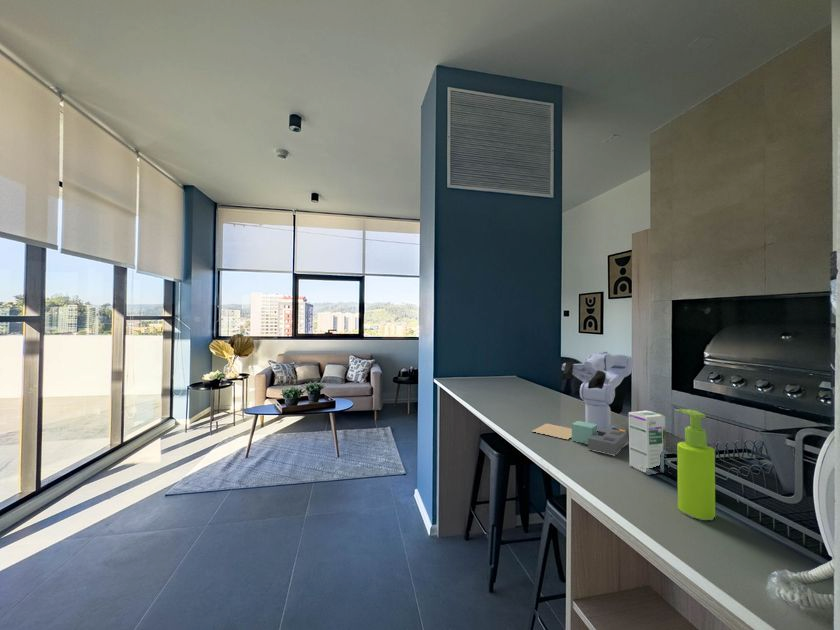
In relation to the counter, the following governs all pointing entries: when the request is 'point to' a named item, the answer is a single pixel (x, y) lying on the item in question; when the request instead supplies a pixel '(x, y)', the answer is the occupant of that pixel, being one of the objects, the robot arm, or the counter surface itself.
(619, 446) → the power strip
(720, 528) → the counter surface
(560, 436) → the cork mat
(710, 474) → the soap dispenser
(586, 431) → the charger
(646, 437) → the syrup box
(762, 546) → the counter surface
